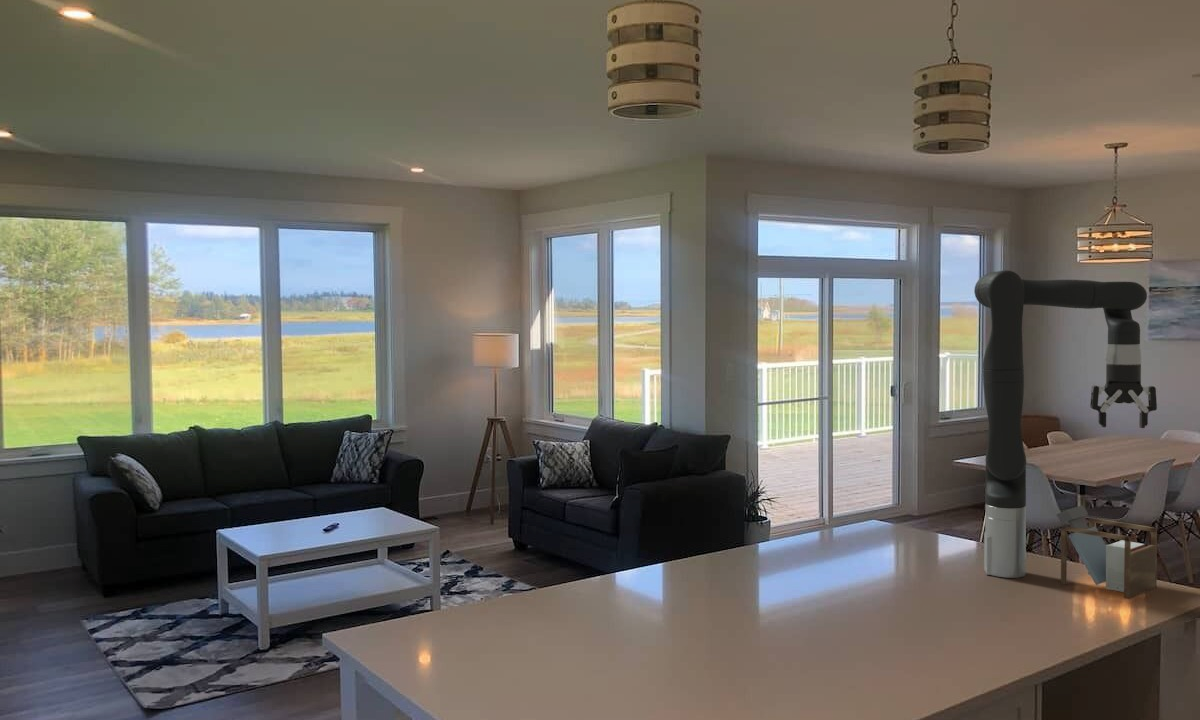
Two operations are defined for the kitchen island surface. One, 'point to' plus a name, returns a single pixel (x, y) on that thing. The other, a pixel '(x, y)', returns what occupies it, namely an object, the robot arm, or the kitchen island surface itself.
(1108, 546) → the small box
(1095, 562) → the trapdoor
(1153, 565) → the trapdoor frame
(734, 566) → the kitchen island surface
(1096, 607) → the kitchen island surface
